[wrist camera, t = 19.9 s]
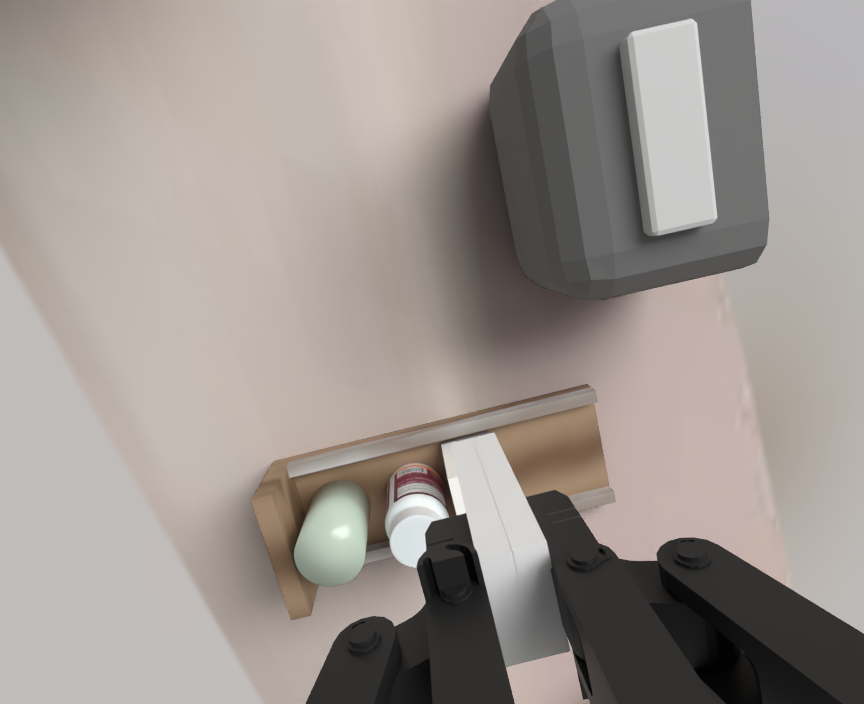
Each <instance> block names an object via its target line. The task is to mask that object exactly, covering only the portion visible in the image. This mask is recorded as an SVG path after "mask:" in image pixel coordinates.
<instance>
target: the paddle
mask: <svg viewBox="0 0 864 704" xmlns="http://www.w3.org/2000/svg"><path fill="white" fill-rule="evenodd" d="M486 434H489V432H488V431H485V432H481V433H477V434H473V435H469V436H465V437H460V438H456V439H452V440H448V441H444V442H441V447H442V452H443V457H444V463H445V468H446V473H447V479H448V483H449V487H450V491H451V495H452V499H453V503H454V507H455V511H456V515H461V514H465V513H466V510H465V506H464V502H463V497H462V493H461V489H460V484H459V480H458V476H457V472H456V467H455V463H454V459H453V455H452V450H451V446H450V443H453V442H458V441H462V440H466V439H470V438H474V437H478V436H482V435H486Z"/></svg>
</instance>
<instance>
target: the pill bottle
mask: <svg viewBox="0 0 864 704" xmlns="http://www.w3.org/2000/svg"><path fill="white" fill-rule="evenodd" d="M448 517H449V513H448V508H447V503H446V497H445V492H444V487H443V482H442V479H441V477H440V476H439V474H438V473H437V472H436V471H435V470H434V469H432V468H431V467H429V466H428V465H425V464H420V463H411V464H407V465H404V466H402V467H400V468H399V469H398V470H396V471H395V472H394V473H393V475H392V476H391V478H390V480H389V482H388V486H387V499H386V515H385V529H386V533H387V536H388V538H389V542H390V549H391V552H392V554H393V555H394V557H395V558H396V559H397V560H398V561H399V562H400V563H402V564H403V565H405V566H408V567H412V568H417V563H418V559H419V558H420V557H421V556H422V554H423V553H424V552H425V551H426V541H425V532H426V531H427V529H428V527H429V525H430V523H431V522H432V521H436V520H440V519H444V518H448Z"/></svg>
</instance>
